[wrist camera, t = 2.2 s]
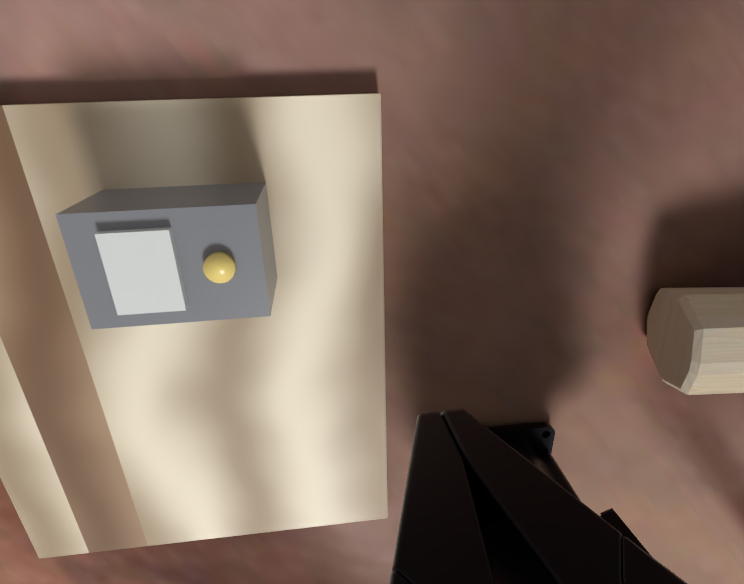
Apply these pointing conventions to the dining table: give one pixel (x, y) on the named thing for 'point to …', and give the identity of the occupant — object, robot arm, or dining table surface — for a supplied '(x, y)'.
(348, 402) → the plywood panel
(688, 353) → the hammer
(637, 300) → the dining table surface
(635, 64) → the dining table surface
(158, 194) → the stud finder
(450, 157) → the dining table surface
